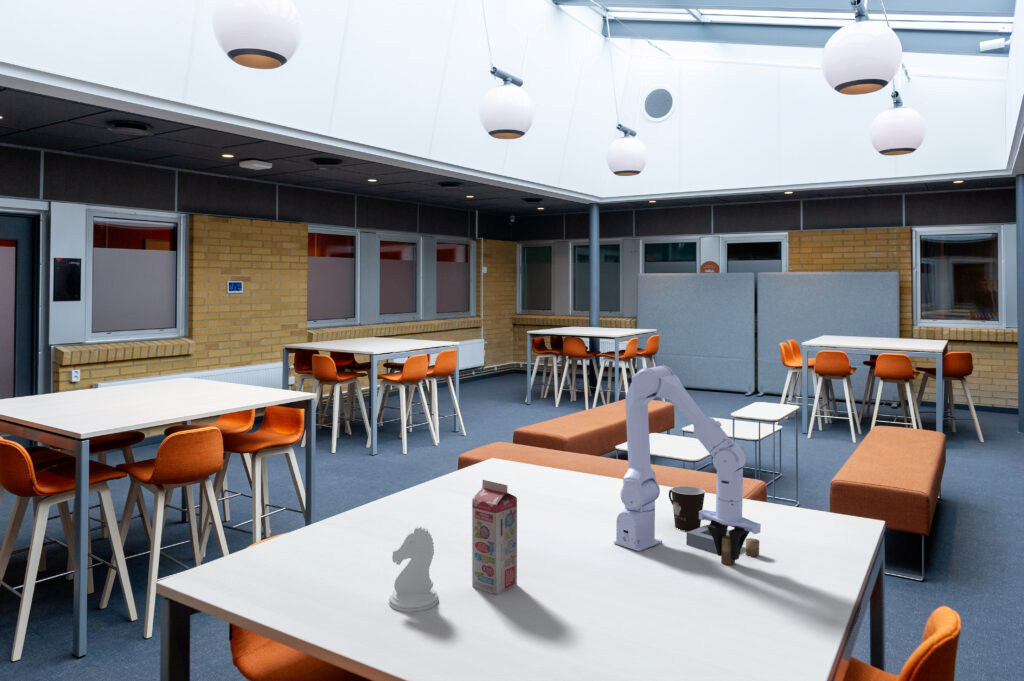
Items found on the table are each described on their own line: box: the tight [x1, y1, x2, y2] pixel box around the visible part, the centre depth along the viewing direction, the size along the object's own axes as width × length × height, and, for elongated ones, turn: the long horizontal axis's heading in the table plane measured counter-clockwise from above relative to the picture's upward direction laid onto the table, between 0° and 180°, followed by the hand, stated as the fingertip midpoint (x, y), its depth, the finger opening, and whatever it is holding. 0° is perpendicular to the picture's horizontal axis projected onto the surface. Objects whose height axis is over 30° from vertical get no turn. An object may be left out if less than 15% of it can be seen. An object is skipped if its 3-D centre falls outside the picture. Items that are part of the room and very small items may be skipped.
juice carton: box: [471, 479, 518, 596], centre depth 149 cm, size 7×7×22 cm
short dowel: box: [745, 537, 760, 558], centre depth 168 cm, size 3×3×4 cm
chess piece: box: [388, 525, 439, 613], centre depth 141 cm, size 10×10×15 cm
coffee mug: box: [668, 485, 706, 532], centre depth 189 cm, size 12×9×10 cm
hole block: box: [685, 524, 729, 554], centre depth 174 cm, size 9×9×3 cm
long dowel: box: [720, 535, 736, 566], centre depth 162 cm, size 3×3×6 cm
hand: (728, 556), depth 162 cm, fingers closed on long dowel, 3 cm apart
